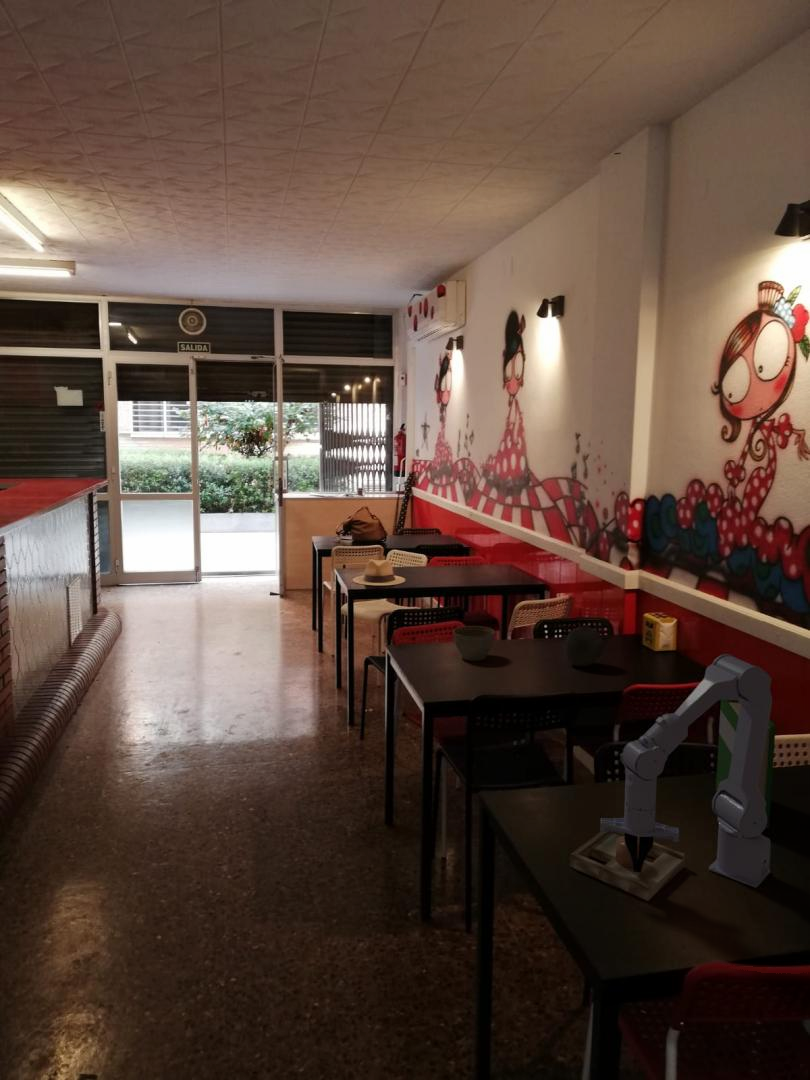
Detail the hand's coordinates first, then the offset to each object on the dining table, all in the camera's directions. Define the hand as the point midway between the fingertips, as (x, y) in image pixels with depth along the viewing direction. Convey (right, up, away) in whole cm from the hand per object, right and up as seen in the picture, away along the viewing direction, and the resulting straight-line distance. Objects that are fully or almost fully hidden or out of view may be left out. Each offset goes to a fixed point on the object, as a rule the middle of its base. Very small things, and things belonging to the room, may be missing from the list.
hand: (637, 869), depth 151 cm
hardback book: (+34, +1, +31) cm, 46 cm away
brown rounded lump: (0, -1, +5) cm, 6 cm away
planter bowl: (-18, +18, +153) cm, 155 cm away
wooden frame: (0, -2, +7) cm, 7 cm away
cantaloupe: (+22, +16, +142) cm, 145 cm away
